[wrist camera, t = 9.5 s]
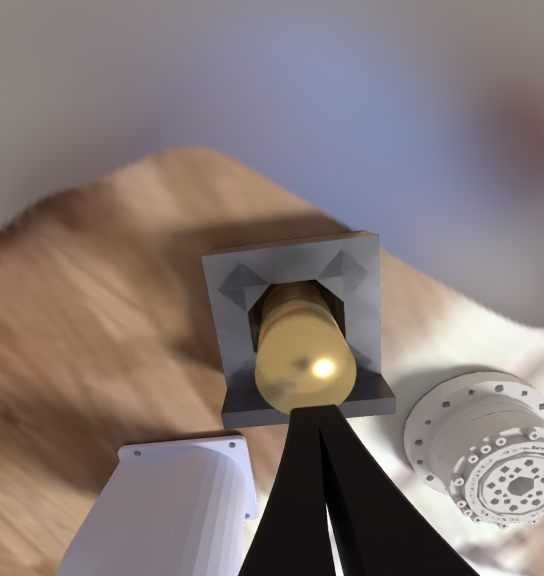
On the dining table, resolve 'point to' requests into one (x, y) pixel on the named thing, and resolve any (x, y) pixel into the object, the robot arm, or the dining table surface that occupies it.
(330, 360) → the brass cylinder rod
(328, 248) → the jig
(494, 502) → the mechanical component
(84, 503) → the dining table surface
